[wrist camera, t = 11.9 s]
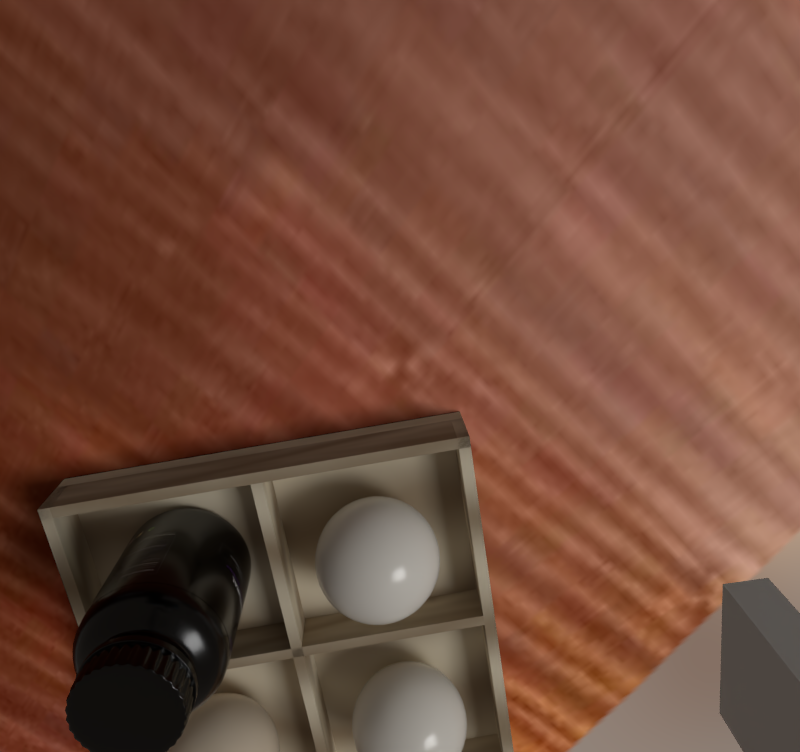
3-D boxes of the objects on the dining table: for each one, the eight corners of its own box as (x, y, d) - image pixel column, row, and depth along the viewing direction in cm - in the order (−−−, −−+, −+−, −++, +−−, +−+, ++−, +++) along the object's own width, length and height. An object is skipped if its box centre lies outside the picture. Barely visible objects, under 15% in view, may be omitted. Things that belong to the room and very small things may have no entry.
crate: (64, 479, 39) (37, 509, 36) (459, 411, 40) (469, 436, 36) (166, 786, 46) (152, 835, 43) (504, 727, 46) (516, 772, 43)
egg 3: (343, 647, 43) (341, 731, 36) (450, 629, 43) (466, 709, 37) (362, 733, 45) (363, 826, 38) (465, 715, 45) (482, 805, 39)
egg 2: (308, 486, 39) (299, 548, 33) (424, 466, 39) (437, 525, 33) (329, 586, 41) (325, 663, 35) (440, 567, 41) (455, 640, 35)
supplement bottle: (278, 569, 41) (249, 731, 29) (182, 632, 42) (117, 814, 30) (200, 479, 39) (136, 613, 27) (101, 546, 40) (-2, 705, 28)
